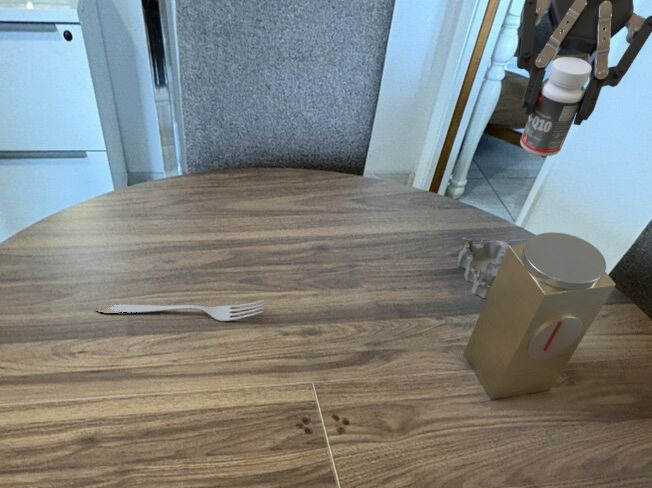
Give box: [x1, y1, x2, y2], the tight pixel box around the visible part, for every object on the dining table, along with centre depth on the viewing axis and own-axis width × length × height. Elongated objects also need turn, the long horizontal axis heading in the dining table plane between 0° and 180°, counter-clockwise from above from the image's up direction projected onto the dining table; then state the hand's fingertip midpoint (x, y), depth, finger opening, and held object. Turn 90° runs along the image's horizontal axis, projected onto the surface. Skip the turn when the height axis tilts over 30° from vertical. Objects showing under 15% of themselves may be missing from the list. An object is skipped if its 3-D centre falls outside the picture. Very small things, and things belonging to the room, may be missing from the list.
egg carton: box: [456, 235, 510, 299], centre depth 94 cm, size 11×8×4 cm
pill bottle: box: [519, 56, 592, 157], centre depth 68 cm, size 5×5×8 cm
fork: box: [108, 300, 265, 322], centre depth 87 cm, size 3×24×2 cm, turn 90°
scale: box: [463, 231, 617, 401], centre depth 77 cm, size 9×10×18 cm
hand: (553, 116), depth 67 cm, fingers closed on pill bottle, 4 cm apart
